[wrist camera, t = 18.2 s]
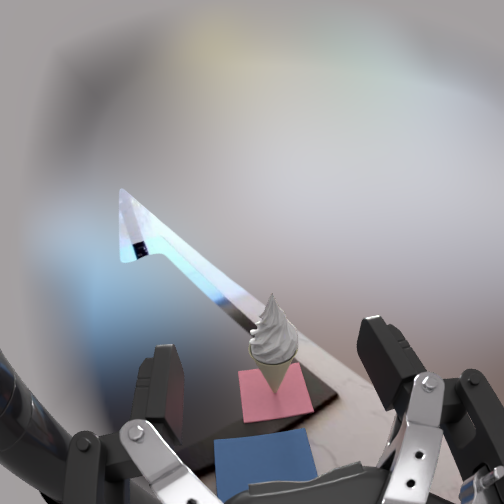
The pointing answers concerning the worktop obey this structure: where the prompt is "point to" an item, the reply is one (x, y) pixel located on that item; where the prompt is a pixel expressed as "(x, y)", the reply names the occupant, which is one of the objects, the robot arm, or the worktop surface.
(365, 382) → the worktop surface
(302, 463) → the blue mat
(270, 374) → the ice cream cone
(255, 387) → the rose mat
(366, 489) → the robot arm
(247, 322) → the worktop surface
